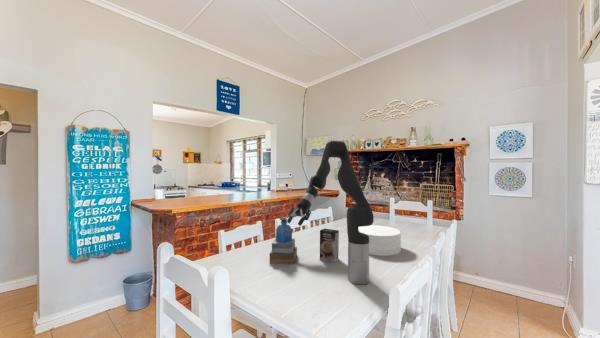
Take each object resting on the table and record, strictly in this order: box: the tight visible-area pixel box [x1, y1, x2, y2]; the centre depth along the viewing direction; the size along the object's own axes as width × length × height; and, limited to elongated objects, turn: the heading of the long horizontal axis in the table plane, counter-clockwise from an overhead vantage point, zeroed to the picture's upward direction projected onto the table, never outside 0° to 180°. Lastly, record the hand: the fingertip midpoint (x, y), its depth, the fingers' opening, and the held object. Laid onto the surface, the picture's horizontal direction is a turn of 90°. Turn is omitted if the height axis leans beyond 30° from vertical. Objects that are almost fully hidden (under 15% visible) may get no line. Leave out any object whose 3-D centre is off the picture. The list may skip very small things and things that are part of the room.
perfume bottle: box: [275, 218, 293, 243], centre depth 139 cm, size 6×6×12 cm
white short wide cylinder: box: [358, 224, 402, 257], centre depth 159 cm, size 28×28×12 cm
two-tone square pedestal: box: [269, 237, 298, 265], centre depth 139 cm, size 13×13×10 cm
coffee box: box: [319, 228, 340, 263], centre depth 138 cm, size 9×6×16 cm
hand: (293, 223), depth 145 cm, fingers open, 8 cm apart
